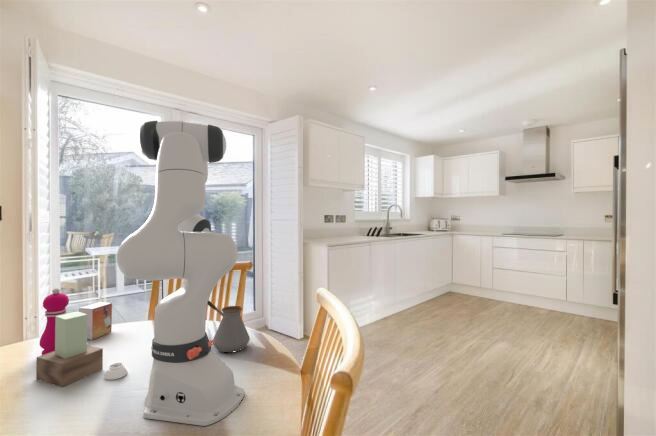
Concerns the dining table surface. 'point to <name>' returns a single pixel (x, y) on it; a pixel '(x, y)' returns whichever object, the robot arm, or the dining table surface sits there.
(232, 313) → the coffee pot
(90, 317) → the small box
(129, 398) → the dining table surface
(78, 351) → the sage block
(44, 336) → the pepper mill
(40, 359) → the walnut block
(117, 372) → the white hollow cone
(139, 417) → the dining table surface
